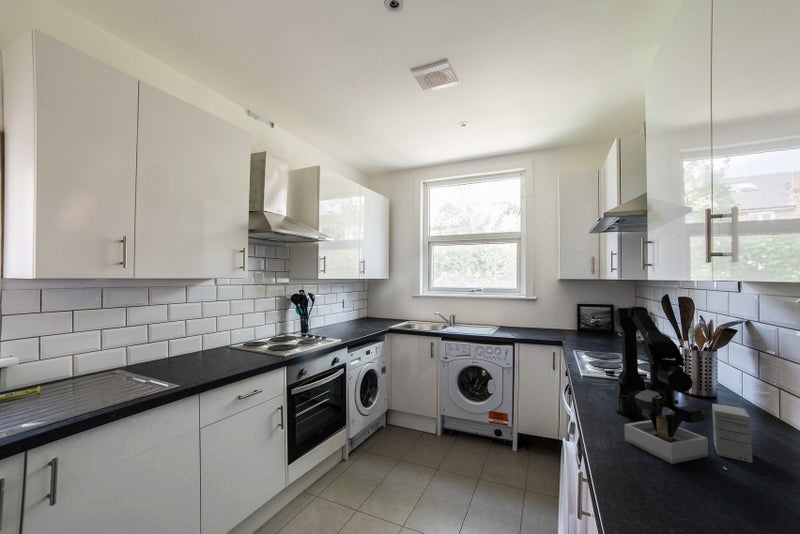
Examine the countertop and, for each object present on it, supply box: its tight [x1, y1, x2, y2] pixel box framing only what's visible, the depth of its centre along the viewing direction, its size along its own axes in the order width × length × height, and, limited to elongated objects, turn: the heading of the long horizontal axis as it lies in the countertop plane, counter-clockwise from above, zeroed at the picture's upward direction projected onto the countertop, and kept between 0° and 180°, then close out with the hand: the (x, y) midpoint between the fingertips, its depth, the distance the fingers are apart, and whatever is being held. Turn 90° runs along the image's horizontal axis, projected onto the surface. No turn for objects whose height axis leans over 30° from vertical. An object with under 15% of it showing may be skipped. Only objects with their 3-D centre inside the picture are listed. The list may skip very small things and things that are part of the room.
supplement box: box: [711, 403, 753, 464], centre depth 97 cm, size 7×7×13 cm
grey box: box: [624, 419, 709, 465], centre depth 100 cm, size 14×14×5 cm
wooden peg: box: [656, 414, 672, 442], centre depth 100 cm, size 4×4×7 cm
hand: (664, 434), depth 100 cm, fingers closed on wooden peg, 3 cm apart
